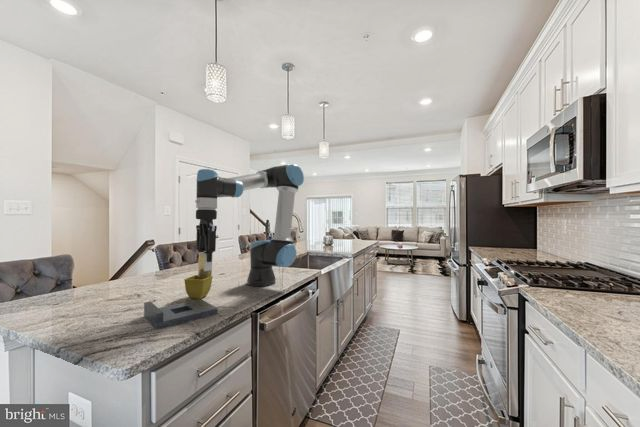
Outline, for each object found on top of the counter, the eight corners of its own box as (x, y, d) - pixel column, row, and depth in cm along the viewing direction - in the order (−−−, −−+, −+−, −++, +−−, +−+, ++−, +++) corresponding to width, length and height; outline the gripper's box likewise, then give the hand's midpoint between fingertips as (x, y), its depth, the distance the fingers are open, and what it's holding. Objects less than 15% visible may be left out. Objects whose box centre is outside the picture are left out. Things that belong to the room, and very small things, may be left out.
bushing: (208, 273, 106) (208, 253, 106) (213, 275, 103) (214, 254, 103) (196, 275, 103) (196, 254, 103) (201, 277, 99) (201, 255, 100)
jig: (200, 303, 110) (200, 291, 110) (217, 313, 99) (217, 300, 99) (144, 316, 96) (144, 302, 96) (156, 329, 85) (156, 313, 85)
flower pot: (213, 294, 123) (213, 275, 123) (202, 300, 114) (203, 279, 115) (195, 294, 124) (195, 274, 124) (183, 300, 115) (183, 279, 115)
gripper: (188, 209, 107) (186, 267, 106) (206, 208, 95) (204, 273, 94) (206, 210, 112) (205, 265, 112) (226, 209, 100) (224, 271, 99)
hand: (205, 269), depth 103 cm, fingers closed on bushing, 5 cm apart
